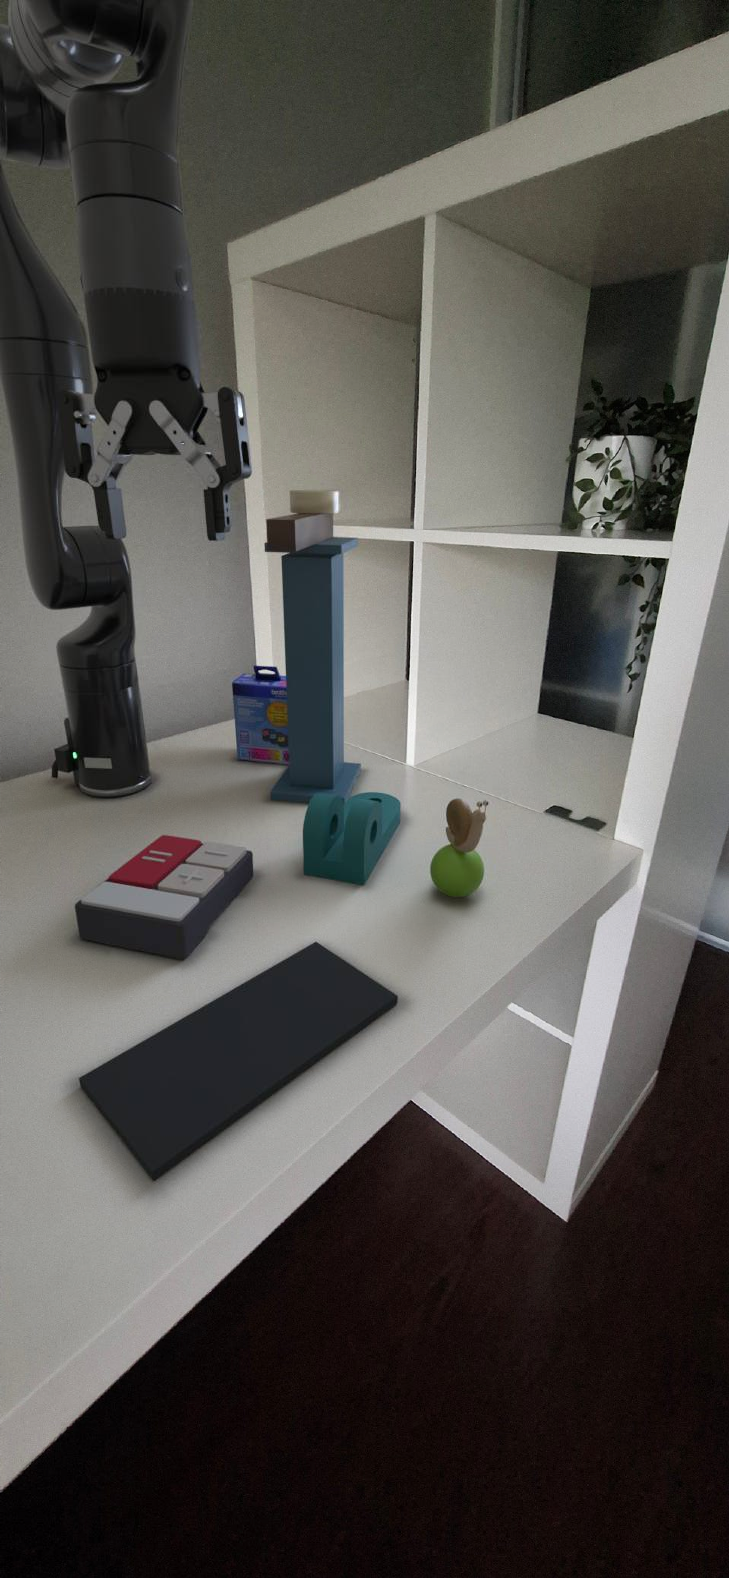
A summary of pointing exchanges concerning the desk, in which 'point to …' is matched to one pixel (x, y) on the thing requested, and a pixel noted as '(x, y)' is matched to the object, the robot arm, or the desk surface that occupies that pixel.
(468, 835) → the snail figurine
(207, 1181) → the desk surface
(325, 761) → the stand
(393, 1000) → the rubber mat
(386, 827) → the bracket
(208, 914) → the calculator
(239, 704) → the ink cartridge box
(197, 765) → the desk surface
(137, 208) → the robot arm
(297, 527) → the tape bar
